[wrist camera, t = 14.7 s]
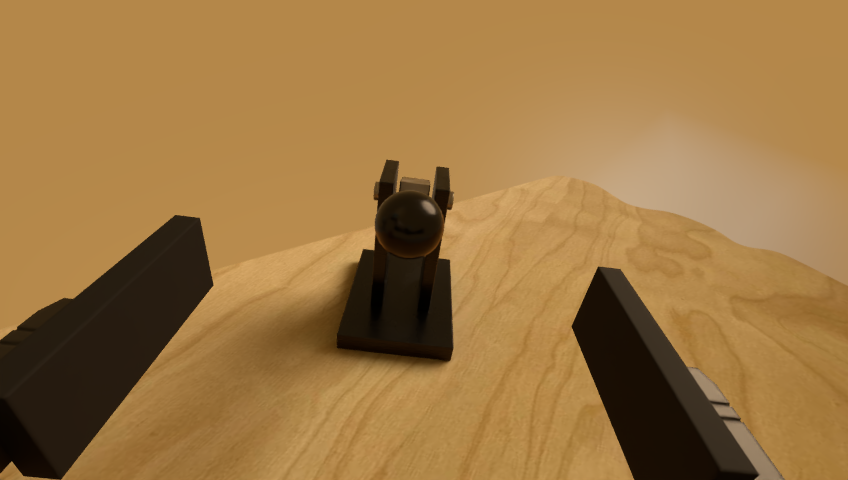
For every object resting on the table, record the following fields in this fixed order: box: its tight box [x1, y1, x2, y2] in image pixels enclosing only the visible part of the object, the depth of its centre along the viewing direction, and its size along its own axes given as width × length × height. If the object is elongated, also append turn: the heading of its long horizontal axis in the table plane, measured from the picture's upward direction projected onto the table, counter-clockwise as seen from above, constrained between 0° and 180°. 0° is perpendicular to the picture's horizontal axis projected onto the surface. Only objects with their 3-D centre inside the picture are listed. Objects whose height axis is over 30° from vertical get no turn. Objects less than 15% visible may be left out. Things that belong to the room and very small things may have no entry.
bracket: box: [337, 160, 454, 361], centre depth 32 cm, size 12×9×13 cm
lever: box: [375, 177, 444, 260], centre depth 25 cm, size 13×4×4 cm, turn 178°
